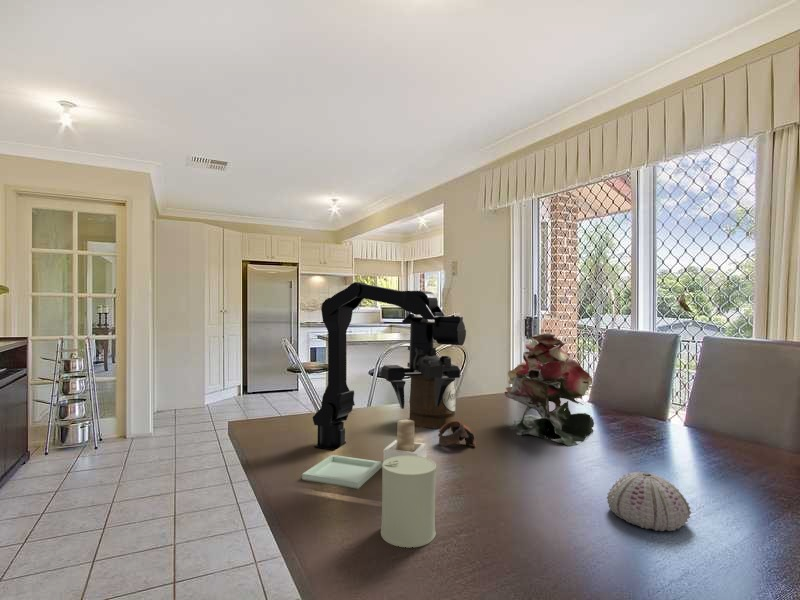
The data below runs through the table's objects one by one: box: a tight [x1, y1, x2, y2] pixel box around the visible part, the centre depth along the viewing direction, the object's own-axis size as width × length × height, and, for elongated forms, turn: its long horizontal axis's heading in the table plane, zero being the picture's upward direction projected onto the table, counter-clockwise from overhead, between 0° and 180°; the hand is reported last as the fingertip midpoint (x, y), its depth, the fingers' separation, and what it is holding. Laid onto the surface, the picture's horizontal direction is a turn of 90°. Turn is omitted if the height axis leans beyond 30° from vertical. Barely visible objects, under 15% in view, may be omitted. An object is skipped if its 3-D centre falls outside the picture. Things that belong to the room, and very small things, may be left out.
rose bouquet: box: [504, 332, 595, 447], centre depth 140 cm, size 26×29×30 cm
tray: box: [301, 454, 383, 490], centre depth 99 cm, size 13×13×2 cm
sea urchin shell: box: [606, 471, 692, 532], centre depth 82 cm, size 13×14×8 cm
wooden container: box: [409, 355, 456, 429], centre depth 146 cm, size 15×15×22 cm
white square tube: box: [382, 439, 428, 463], centre depth 105 cm, size 8×8×5 cm
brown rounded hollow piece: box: [437, 419, 477, 449], centre depth 121 cm, size 12×10×8 cm
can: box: [380, 455, 437, 549], centre depth 75 cm, size 9×9×12 cm
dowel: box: [396, 419, 415, 452], centre depth 105 cm, size 4×4×10 cm
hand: (420, 407), depth 108 cm, fingers open, 9 cm apart
